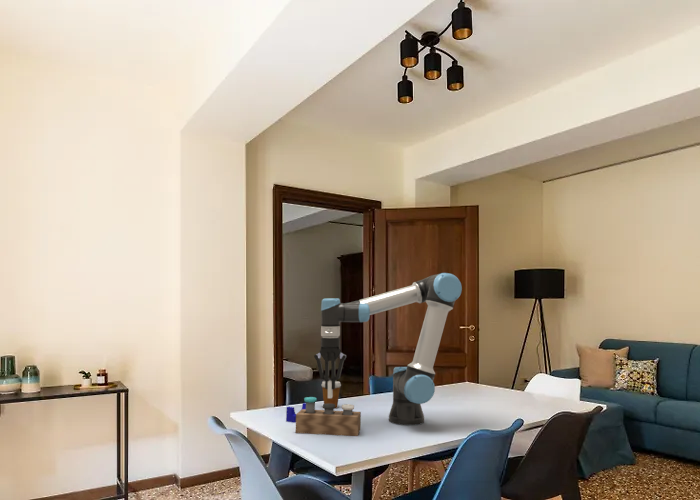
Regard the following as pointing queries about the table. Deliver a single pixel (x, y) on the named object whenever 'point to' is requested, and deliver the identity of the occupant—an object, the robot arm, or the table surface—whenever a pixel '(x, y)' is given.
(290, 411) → the blue u-shaped block
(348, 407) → the plug grey
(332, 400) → the disposable coffee cup
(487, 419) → the table surface
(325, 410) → the plug black
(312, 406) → the plug teal
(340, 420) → the socket block
